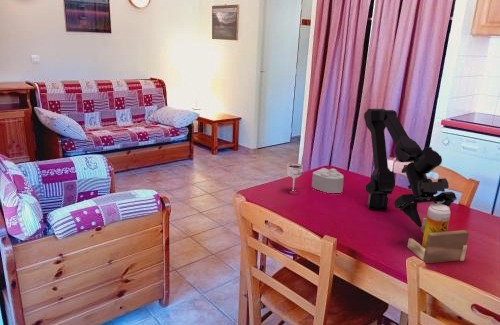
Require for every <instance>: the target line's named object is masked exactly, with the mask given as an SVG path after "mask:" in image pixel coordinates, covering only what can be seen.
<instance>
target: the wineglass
mask: <svg viewBox="0 0 500 325" xmlns="http://www.w3.org/2000/svg"><path fill="white" fill-rule="evenodd" d="M286 167H287V168H286V174H287V175H288V176H289V177H290V178H292V191H294V190H295V182H296V179H297V178H299V177H300V176H301V175H302V174H303V172H304V170H303V167H304V165H303V164H302V163H297V162H292V163H288V164H286Z"/></svg>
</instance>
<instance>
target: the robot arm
mask: <svg viewBox="0 0 500 325" xmlns="http://www.w3.org/2000/svg"><path fill="white" fill-rule="evenodd" d="M363 119H364V123H365V127H367V129H368V130H369V132H370V136H371V137H370V138H371V146H372V157H373V158H372V159H373V165H374V166H373V167H374V170H372V173H371V175H370V181H369V182H368V183H367V184H366V185H365V192H367V193H368V201H367V202H366V205H367V208H368V210H372V211H384V212H386V211H387V208H388V204H389V197H388V195H392V194H393V191H394V189H395V186H396V179H395V171H392V170H390V167H389V165H388V164H389V163H388V157H387V155H388V154H387V144H386V135H385V130H387V131H388V134H389V135H390V137H391V139H392V141H393V143H394V146H395V147H394V149H393V150H394V154H395V157H396V159H397V161H398V162H399V163H408V164H404V165H403V168H402V169H401V173H402V174H405V175H406V178H407V181H408V186H407V189H408V190H411V193H409V194H408V193H406V194H405V193H404V194H401V195H399V196H398V197H396V198H395V199H394V202H393V204H394V208H395V209H397V210H398V209H399V211H400V212H403V213H404V214H405V215H406V216H407V217H408V218H409V219H410V220H411V221H412V222H413V223H414V224H415V225H416V226H417V227H418V228H422V220H421V217H420V214H419V212H418V204H428V203H433V204H443V205H446V206H448V207H449V208H450V207H451V205H452V204H453V203H454V202H455V201H457V195H456V194H455V192H453V191H446V190H445V189H447V190H448V189H449V182H448V180H447V178H446V177H444V178H438V179H437V181H433V180H432V179H431V178H428V176H427V174H429V173H431V172H433V170H435V169H436V168H438V167H439V166H440V165H441V164H442V163H443V157H442V155H440V154H439V153H438V152H437V151H436V150H433V147H432V146H429V147H428V146H426V147H424V148H423V149H422V148H421V146H420V145H419V144H418V142H417V141H415V140H414V139H412V138H410V136H408V134H407V131H406V130H405V128H404V126H403V124H402V123H401V120H400V119H399V118H398V114H397V111H396V110H394V109H385V108H368V109H366V111H365V112H364V114H363ZM439 192H440V193H439ZM438 193H439V194H438Z"/></svg>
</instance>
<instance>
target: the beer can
mask: <svg viewBox="0 0 500 325" xmlns="http://www.w3.org/2000/svg"><path fill="white" fill-rule="evenodd" d="M451 214H452V213H451V209H450V207H448V206H446V205H443V204H435V203H431V204H430V205H429V206H428V208H427V213H426V218H427V219H426V225H425V231H424V233H423V238H422V244H421V246H423V247H424V248H426V243H427V237H428V233H438V232H448V228H449V222H450V218H451Z"/></svg>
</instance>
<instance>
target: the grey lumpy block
mask: <svg viewBox="0 0 500 325" xmlns="http://www.w3.org/2000/svg"><path fill="white" fill-rule="evenodd" d="M344 179H345V178H344V174H342V173H340V171H338V170H337V169H336V168H330V169H328V168H325V167H322V168H319V169H318V170H315V171H313V172H312V180H311V188H312V187H313V188H315V189H317V190H320V191H323V192H327V193H341V192H342V193H343V188H344ZM342 193H341V194H342Z"/></svg>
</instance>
